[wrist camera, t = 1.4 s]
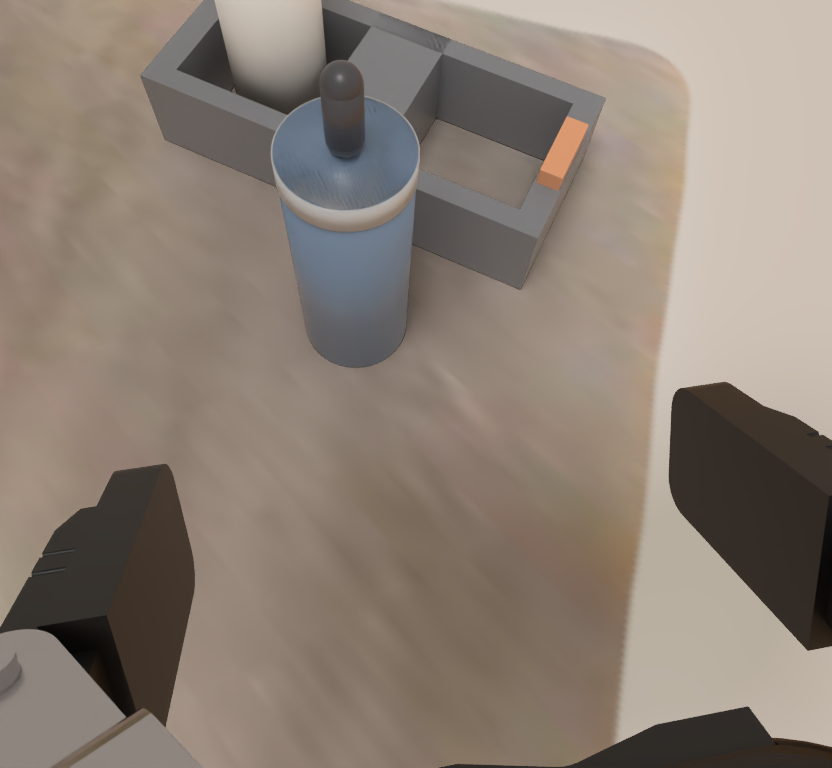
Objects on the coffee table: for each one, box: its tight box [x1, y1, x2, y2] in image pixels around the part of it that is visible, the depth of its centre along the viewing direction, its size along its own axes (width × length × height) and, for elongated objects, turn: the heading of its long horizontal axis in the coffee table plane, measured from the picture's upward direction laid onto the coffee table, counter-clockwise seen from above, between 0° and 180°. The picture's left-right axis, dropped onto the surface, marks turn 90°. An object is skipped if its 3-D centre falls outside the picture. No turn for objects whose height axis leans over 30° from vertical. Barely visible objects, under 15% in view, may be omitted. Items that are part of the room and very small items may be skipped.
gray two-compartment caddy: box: [140, 0, 606, 290], centre depth 30 cm, size 19×8×14 cm, turn 65°
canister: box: [271, 60, 420, 368], centre depth 26 cm, size 4×4×14 cm
